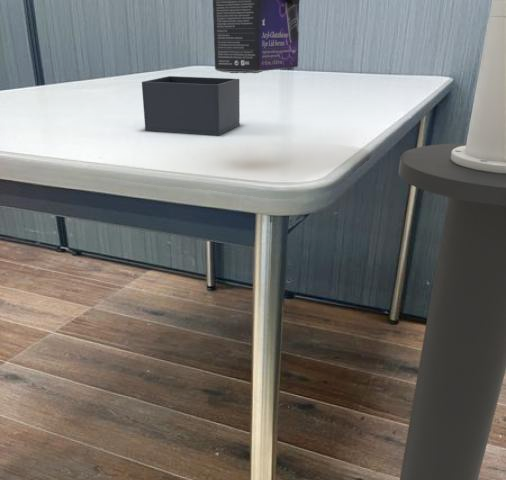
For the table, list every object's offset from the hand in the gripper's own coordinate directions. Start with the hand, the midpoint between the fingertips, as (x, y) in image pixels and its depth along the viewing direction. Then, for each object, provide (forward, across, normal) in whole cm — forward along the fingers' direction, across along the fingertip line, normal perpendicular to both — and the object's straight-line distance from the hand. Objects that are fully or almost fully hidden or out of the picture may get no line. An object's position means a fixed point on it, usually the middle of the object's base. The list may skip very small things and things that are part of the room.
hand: (256, 3), depth 59 cm
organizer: (+16, +16, -20) cm, 30 cm away
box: (+6, 0, 0) cm, 6 cm away
